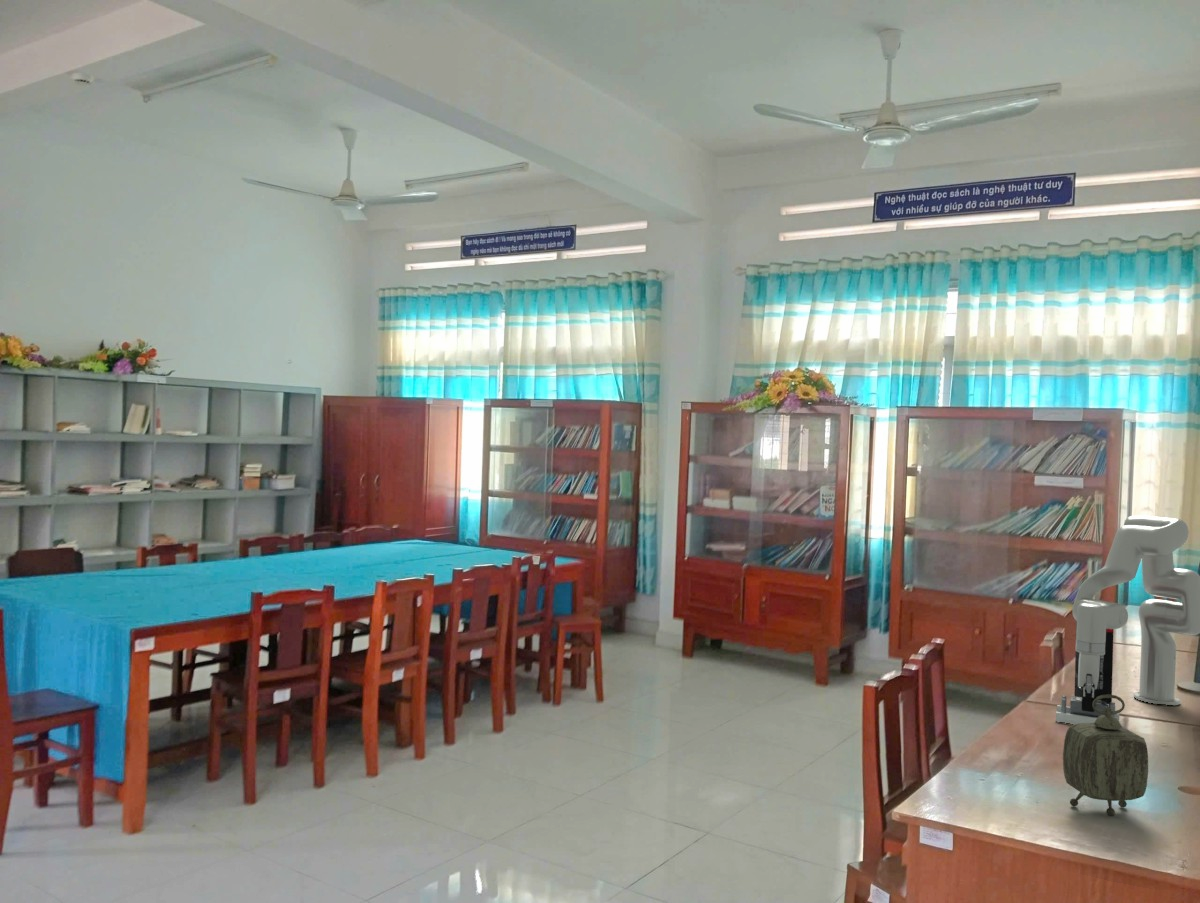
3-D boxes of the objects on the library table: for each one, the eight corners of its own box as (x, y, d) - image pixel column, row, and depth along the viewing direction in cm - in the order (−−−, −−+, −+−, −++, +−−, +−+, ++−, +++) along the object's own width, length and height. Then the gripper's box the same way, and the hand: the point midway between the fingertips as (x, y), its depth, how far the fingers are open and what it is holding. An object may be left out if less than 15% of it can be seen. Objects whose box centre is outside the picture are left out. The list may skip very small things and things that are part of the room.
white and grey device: (1057, 712, 283) (1057, 692, 283) (1118, 721, 276) (1119, 700, 276) (1055, 721, 273) (1056, 700, 273) (1119, 731, 266) (1120, 709, 266)
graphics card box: (1113, 713, 285) (1116, 621, 284) (1087, 711, 286) (1091, 620, 286) (1095, 698, 301) (1098, 612, 301) (1071, 696, 303) (1075, 610, 303)
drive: (1071, 713, 279) (1071, 695, 279) (1106, 718, 275) (1106, 700, 275) (1069, 717, 275) (1070, 699, 274) (1105, 723, 270) (1106, 704, 270)
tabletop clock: (1126, 804, 210) (1130, 690, 210) (1151, 821, 201) (1156, 701, 201) (1060, 803, 210) (1065, 688, 209) (1083, 819, 201) (1087, 700, 200)
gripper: (1076, 640, 284) (1074, 698, 284) (1075, 651, 269) (1072, 712, 269) (1105, 643, 280) (1102, 702, 281) (1105, 654, 265) (1103, 716, 265)
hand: (1088, 707), depth 275 cm, fingers open, 9 cm apart
